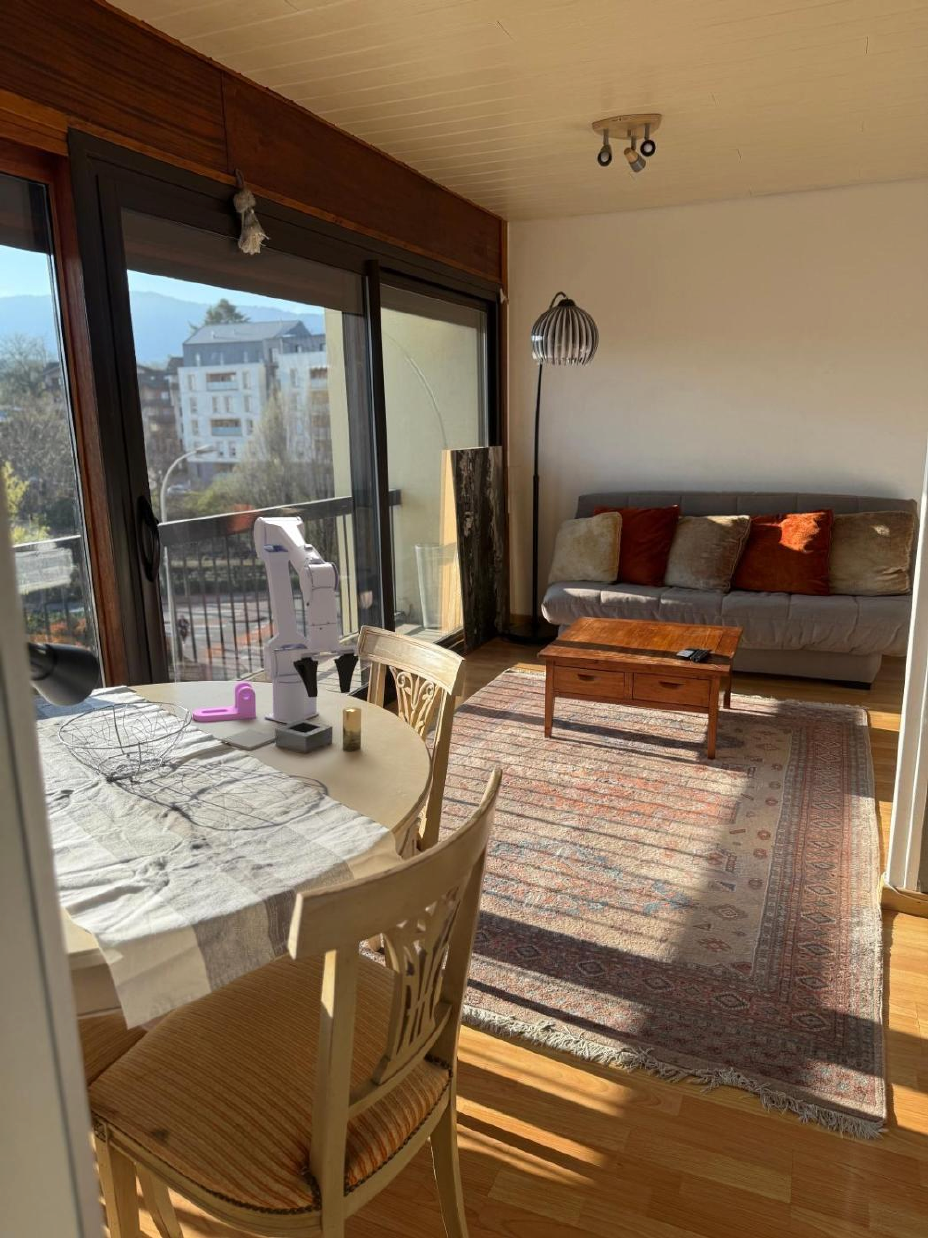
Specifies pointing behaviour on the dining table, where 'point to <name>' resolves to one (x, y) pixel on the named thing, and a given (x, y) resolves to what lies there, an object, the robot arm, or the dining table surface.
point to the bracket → (240, 710)
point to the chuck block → (303, 736)
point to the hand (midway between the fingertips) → (329, 694)
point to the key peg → (351, 729)
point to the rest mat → (249, 739)
